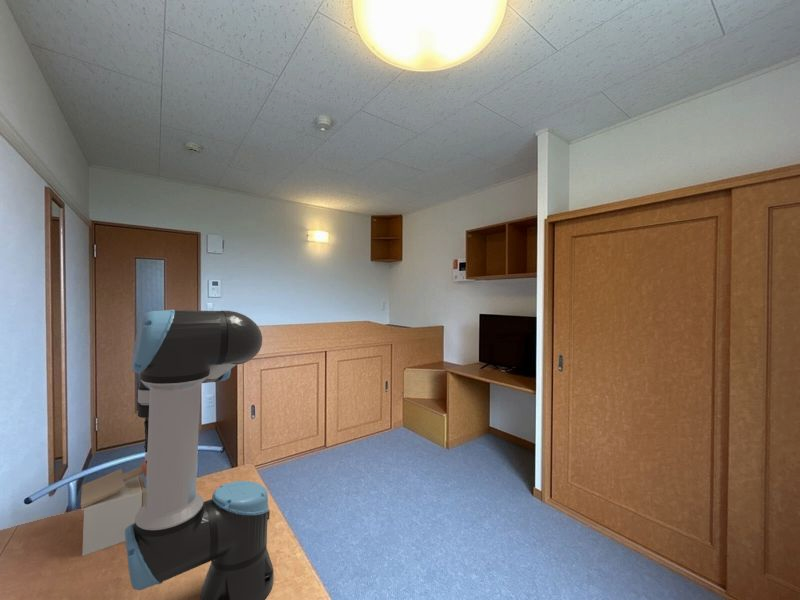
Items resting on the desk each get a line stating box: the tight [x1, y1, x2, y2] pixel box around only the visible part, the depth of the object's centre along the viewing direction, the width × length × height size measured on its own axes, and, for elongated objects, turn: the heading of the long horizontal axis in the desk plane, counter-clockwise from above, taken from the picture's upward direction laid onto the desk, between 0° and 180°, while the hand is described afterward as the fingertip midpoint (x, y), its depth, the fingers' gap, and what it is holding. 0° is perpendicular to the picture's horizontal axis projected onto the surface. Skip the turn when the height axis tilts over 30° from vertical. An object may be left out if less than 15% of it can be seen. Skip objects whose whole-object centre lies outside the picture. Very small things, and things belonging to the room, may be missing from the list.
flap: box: [80, 460, 147, 509], centre depth 98 cm, size 13×18×2 cm
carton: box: [82, 474, 146, 557], centre depth 97 cm, size 14×13×12 cm
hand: (151, 477), depth 102 cm, fingers closed on flap, 6 cm apart
